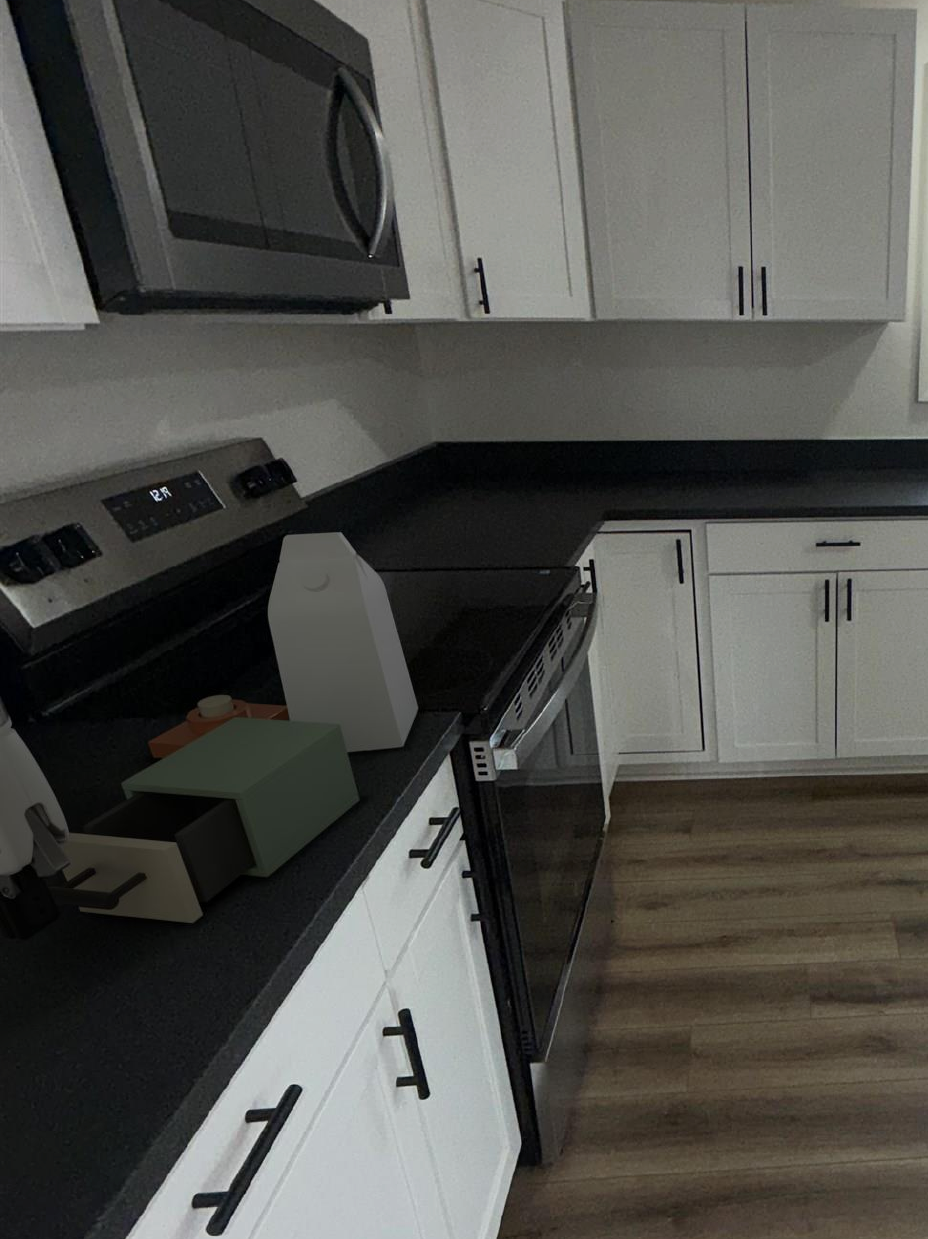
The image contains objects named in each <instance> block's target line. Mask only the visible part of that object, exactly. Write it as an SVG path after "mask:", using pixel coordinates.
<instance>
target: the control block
mask: <svg viewBox="0 0 928 1239" xmlns="http://www.w3.org/2000/svg"><path fill="white" fill-rule="evenodd" d="M232 702H233V705H234V708H235V710H234V711H232V712H230V713H228V714H225V715H222V716H218V717H211V718H202V717H201V714H200V711H199V708H198V706H197V707H195V708H193V709H192V710H190V711H188V713H187V715H186V717H185V719H186V720H185V721H184V722H182V723H180V724H179V725H176V726H174V727H173V728H171V729H169V730H167V731H166V732H163V733H162V734H160V735H158V736H156V737H154V738H152V739H150V740H149V741H147V744H148V747H149V750H150V752H151V755H152V757H153V758H155V759H163V758H165V757H167V756H169V755H170V754H172V753H174V752H176V751H177V750H179V749H181V748H182V747H184V746H186V745H188V744H189V743H191V742H193V741H195V740H196V739H198V738H200V737H201V736H203V735H205V734H207V733H208V732H210V731H212V730H214V729H215V728H217V727H219V726H221V725H222V724H224V723H226V722H227V721H229V720H231V719H233V718H234V717H242V718H256V719H270V720H285V721H290V718H289V713H288V708H287V705H281V704H280V705H279V704H268V703H267V704H266V703H265V704H264V703H251V702H246V701H244V700H242V699H232Z"/></svg>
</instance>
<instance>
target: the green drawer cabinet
mask: <svg viewBox="0 0 928 1239" xmlns="http://www.w3.org/2000/svg"><path fill="white" fill-rule="evenodd" d="M120 785H121V787H122V789H123V792H124V795H125V798H126V800H127V799H129V798H131V797H132V796H134V795H136V794H137V793H139V792H141V791H144V792H156V793H168V794H180V795H192V796H204V797H216V798H228V799H235V801H236V804H237V807H238V810H239V813H240V816H241V819H242V822H243V825H244V828H245V831H246V834H247V837H248V840H249V843H250V846H251V849H252V852H253V855H254V859H255V862H256V863H255V864H254V865H253V866H251V867H250V868H249V869H248V870H246V871H245V872H244V873H243V874H241V875H240V876H249V877H260V878H261V877H262V878H268V877H270V876H271V875H272V874H273V873H274V872H276V871H277V870H278V869H279V868H280V867H282V865H284V864H285V863H286V862H287V861H289V860H290V859H291V858H292V857H293V856H295V855H296V854H297V853H299V851H301V850H302V849H303V848H304V847H306V846H307V845H308V844H309V843H311V842H312V841H313V840H314V839H315V838H316V837H317V836H319V835H320V834H321V833H322V832H324V831H326V829H327V828H328V827H329V826H331V825H332V824H333V823H334V822H335V821H337V820H338V819H340V817H342V816H343V815H344V814H345V813H346V812H348V811H349V810H350V809H351V808H352V807H353V806H355V805H356V804H357V803H358V802H360V796H359V793H358V789H357V785H356V782H355V777H354V773H353V769H352V766H351V761H350V757H349V754H348V752H347V750H346V746H345V742H344V738H343V735H342V731H341V727H340V724H328V723H314V722H299V721H285V720H270V719H256V718H242V717H234V718H233V719H231V720H229V721H227V722H226V723H224V724H222V725H221V726H219V727H217V728H215V729H214V730H212V731H210V732H208V733H207V734H205V735H203V736H201V737H200V738H198V739H196V740H195V741H193V742H191V743H189V744H188V745H186V746H184V747H182V748H181V749H179V750H177V751H176V752H174V753H172V754H170V755H169V756H167V757H165V758H161V759H160V760H158V761H156V762H154V763H153V764H151V765H150V766H148V767H146V768H144V769H143V770H141V771H139V772H137V773H136V774H133V775H132V776H130V777H128V778H127V779H125V780H124V781H122V782H121V783H120Z"/></svg>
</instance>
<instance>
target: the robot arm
mask: <svg viewBox="0 0 928 1239" xmlns="http://www.w3.org/2000/svg"><path fill="white" fill-rule="evenodd" d="M12 725H13V722H12V719H11V717H10V715H9V712H8V710H7V707H6V705H5V703H4V701H3V699H2V696H1V695H0V931H1V933H2V935H3V937H4V938H5V939H11V940H18V941H28V940H30V939H31V938H32V937H34V936H36V934H38V933H39V932H41V931H42V930H44V929H45V928H47V927H48V926H50V925H51V924H53V923H55V922H56V921H57V920H59V918H60V917H61V912H60V909H59V907H58V905H56V903H55V901H54V898H53V896H52V894H51V892H50V890H49V888H48V887H49V886H48V883H47V881H46V879H47V878H48V877H49V876H54V875H56V874H58V873H59V872H62V871H63V869H64V868H66V867H67V866H69V865H70V861H69V859H68V858H67V856H66V855H65V853H64V852H63V850H62V849H61V847H60V846H59V845H63V844H65V843H66V842H67V841H68V839H69V833H70V831H69V827H68V823H67V821H66V818H65V815H64V813H63V811H62V808H61V806H60V803H59V802H58V799H57V797H56V794H55V793H54V791H53V789H52V787H51V786H50V784H49V782H48V779H47V778H46V777H45V775H44V773H43V771H42V769H41V768H40V766H39V764H38V762H37V761H36V759H35V757H34V756H33V754H32V753H31V751H30V750H29V747H27V745H26V743H25V742H24V740H23V739H22V738H21V737H20V735H19V734H18V732H17V731H16V729H15V728H12Z"/></svg>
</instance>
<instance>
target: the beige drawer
mask: <svg viewBox="0 0 928 1239" xmlns="http://www.w3.org/2000/svg"><path fill="white" fill-rule="evenodd" d="M82 829H83V831H84V833H77V832H76V833H75V832H69V839H68V841H67V842H66V843H65V844H63V845H59V846H60V847H61V849H62V850H63V852H64V853H65V855H66V856H67V858H68V859H69V861H70V865H69V866H67V867H66V868H64V869H63V870H62V873H63V875H64V878H65V879H66V882H64V883H63V884H61V885H60V886H48V888H49V890H50V892H51V894H52V896H53V898H54V901H55V903H56V905H57V906H65V907H67V906H68V907H76V908H78V909H79V911H80V912H82V913H91V914H101V915H111V916H119V917H131V918H140V919H150V920H160V921H168V922H177V923H185V924H186V923H188V924H194V923H195V922H197V921H198V920H199V919H200V918H202V917H203V915H204V913H203V911H202V908H201V906H200V903H208V902H209V901H211V900H212V899H213V898H214V897H215V896H217V895H218V894H219V893H220V892H221V891H223V890H224V889H226V887H228V886H229V885H231V883H233V882H234V881H235V880H236V879H238V878H239V877H240V876H242V875H241V874H243V873H244V872H245V871H246V870H248V869H249V868H250V867H251V866H253V865H254V864H255V863H256V862H255V859H254V855H253V852H252V849H251V846H250V843H249V840H248V837H247V834H246V831H245V828H244V825H243V822H242V819H241V816H240V813H239V810H238V807H237V804H236V801H235V799H228V798H216V797H204V796H192V795H180V794H168V793H156V792H144V791H141V792H139V793H137V794H136V795H134V796H132V797H131V798H129V799H127V798H126V800H124V801H122V802H121V803H119V804H118V805H115V806H114V807H113V808H110V809H109V810H107V811H106V812H104V813H102V814H101V815H99V816H98V817H96V818H94V819H92V820H91V821H89V822H88V823H86V824H83V826H82Z"/></svg>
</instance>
